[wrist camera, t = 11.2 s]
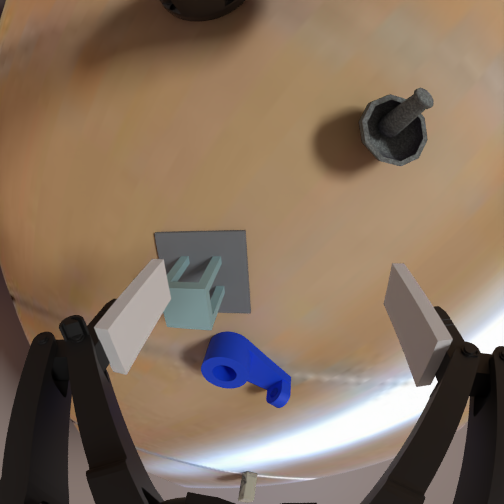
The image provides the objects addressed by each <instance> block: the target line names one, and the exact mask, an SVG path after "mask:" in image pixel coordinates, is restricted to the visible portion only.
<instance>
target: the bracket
mask: <svg viewBox="0 0 504 504" xmlns="http://www.w3.org/2000/svg"><path fill="white" fill-rule="evenodd" d="M201 372H202V374H203V376H204V377H205V379H206V380H207V381H209V382H210V383H212V384H214V385H216V386H218V387H222V388H237V387H240V386H242V385H244V384H245V383H246V381H248V382H250V383H253V384H255V385H257V386H259V387H262V388H264V389H266V390H267V398H266V400H267V402H268V403H269V404H271V405H273V406H275V407H277V408H281V407H283V406H284V405H285V404H286V403H287V402H288V400H289V398H290V389H291V377H290V376H289V375H288V374H287V373H286V372H284V371H283V370H282V369H281V368H280V367H278V366H277V365H276V364H275V363H274V362H273V361H271V360H270V359H269V358H268V357H267V356H266V355H265V354H263V353H262V352H261V351H260V350H259V349H258V348H257V347H255V346H254V345H253V344H252V343H251V342H250V341H249V340H248V339H246V338H245V337H244V336H242V335H240V334H238V333H234V332H221V333H218V334H216V335H214V336H213V337H212V339H211V340H210V343H209V346H208V349H207V352H206V355H205V358H204V360H203V363H202V366H201Z"/></svg>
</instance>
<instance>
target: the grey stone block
mask: <svg viewBox="0 0 504 504" xmlns="http://www.w3.org/2000/svg"><path fill="white" fill-rule="evenodd" d="M256 480H257V474H256V473H252V472H246V473H244V474H242V480H241V486H240V492H239V498H238V501H241V502H246V503H249V502H252V501H254V495H255V488H256Z"/></svg>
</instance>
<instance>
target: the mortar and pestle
mask: <svg viewBox="0 0 504 504" xmlns="http://www.w3.org/2000/svg"><path fill="white" fill-rule="evenodd" d="M432 106H433V98H432V96H431V95H430V93H429V92H428V91H427V90H425V89H423V88H418V89H416V90H415V91H414V94H413V95H412V96H411V97H409V98H408V99H404V98H401V97H397V96H394V95H391V94H390V95H387V96H384V97H382V98H379V99H377V100H375V101H372V102H370V103H368V105H367V106H366V108H365V110H364V112H363V114H362V116H361V118H360V120H359V127H360V133H361V139H362V143H363V144H364V145H365V146H366V147H367V149H368V150H369V151H370V152H371V153H372V154H373V155H374V156H375V158H376V159H377V160H379V161H381V162H386V163H390V164H394V165H397V166H403V165H405V164H407V163H409V162H411V161H413V160H416V159H418V158H419V156H420V154H421V152H422V150H423V148H424V146H425V144H426V142H427V132H426V124H425V118H424V117H423V115H422V114H421V113H422V112H423V111H424V110H425V109H429V108H431V107H432Z"/></svg>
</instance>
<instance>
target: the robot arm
mask: <svg viewBox="0 0 504 504" xmlns="http://www.w3.org/2000/svg"><path fill="white" fill-rule="evenodd" d="M160 1H161V3H162V5H163V6H164V7H165V8H166V9H167V10H168V11H169V12H170V13H172V14H173V15H174V16H176V17H178V18H181V19H184V20H189V21H205V20H211V19H215V18H218V17H221V16H223V15H226V14H228V13H230V12H231V11H233V10H235V9H236V8H237V7H239V6H240V5H241V4H242V3H243V2H244V1H245V0H160ZM170 300H171V295H170V290H169V285H168V280H167V275H166V269H165V264H164V259H152V260H151V261H150V262H149V263H148V264H147V265H146V266H145V268H144V269H143V270H142V271H141V272H140V273H139V274H138V275H137V277H136V278H135V279H134V280H133V281H132V282H131V283H130V285H129V286H128V287H127V288H126V289H125V290H124V292H123V293H122V294H121V295H120V296H119V297H118V299H113V300H111V301H110V302H108V303H106V304H105V306H104V307H103V308H102V309H101V311H99V313H98V314H97V315H96V316H95V317H94V319H93V320H92V321H91V322H90V323H89V325H88V326H86V323H85V321H84V319H83V317H82V316H80V315H73V316H69V317H67V318H65V319H64V320H63V321H62V322H61V323H60V325H59V329H60V331H61V333H62V336H63V338H64V340H56V339H55V337H54V335H53V334H52V333H51V332H43V333H40V334H38V335H37V336H36V337H35V338H34V339H33V341H32V344H31V346H30V349H29V352H28V355H27V358H26V361H25V365H24V368H23V371H22V374H21V378H20V381H19V385H18V388H17V392H16V396H15V400H14V404H13V408H12V413H11V417H10V422H9V427H8V432H7V438H6V444H5V451H4V459H3V467H2V477H1V480H0V504H69V489H68V437H69V420H70V408H71V397H73V403H74V408H75V413H76V418H77V422H78V427H79V431H80V435H81V439H82V443H83V447H84V450H85V454H86V457H87V460H88V464H89V470H88V471H86V476H87V481H88V484H89V487H90V490H91V492H92V495H93V498H94V501H95V503H96V504H235V503H232V502H229V501H226V500H223V499H221V498H218V497H212V496H206V495H201V494H195V493H190V492H188V493H187V496H186V497H184V498H175V499H170V500H166V501H164V500H163V499H162V497H161V496H160V494H159V493H158V492H157V490H156V489H155V487H154V486H153V484H152V482H151V480H150V478H149V476H148V474H147V472H146V470H145V468H144V466H143V464H142V461H141V459H140V457H139V455H138V453H137V450H136V448H135V446H134V443H133V441H132V439H131V436H130V434H129V431H128V429H127V426H126V424H125V421H124V419H123V416H122V413H121V410H120V408H119V405H118V402H117V399H116V396H115V393H114V390H113V387H112V384H111V381H110V378H109V374H108V372H107V370H106V368H107V366H108V365H109V363H110V366H111V368H112V370H113V372H117V373H121V374H126V375H127V373H128V371H129V370H130V368H131V366H132V364H133V363H134V361H135V359H136V357H137V356H138V354H139V352H140V350H141V349H142V347H143V345H144V343H145V342H146V340H147V338H148V337H149V335H150V333H151V332H152V330H153V328H154V326H155V325H156V323H157V321H158V320H159V318H160V316H161V315H162V313H163V311H164V310H165V308H166V306H167V305H168V303H169V302H170ZM384 306H385V308H386V310H387V313H388V315H389V317H390V320H391V322H392V324H393V327H394V329H395V332H396V334H397V337H398V339H399V341H400V344H401V347H402V349H403V352H404V354H405V357H406V359H407V362H408V365H409V367H410V370H411V373H412V376H413V379H414V381H415V384H416V387H418V386H425V385H431V383H432V381H433V379H434V377H435V376H436V378H437V381H438V383H437V385H436V386H435V388H434V390H433V392H432V393H431V395H430V399H429V401H428V403H427V405H426V406H425V408H424V410H423V412H422V414H421V416H420V418H419V419H418V421H417V423H416V425H415V426H414V428H413V430H412V432H411V433H410V435H409V437H408V438H407V440H406V441H405V443H404V445H403V446H402V448H401V449H400V451H399V452H398V454H397V456H396V457H395V458H394V460H393V461H392V463H391V464H390V466H389V467H388V469H387V470H386V471H385V473H384V474H383V476H382V477H381V478H380V480H379V481H378V482H377V484H376V485H375V486H374V487H373V489H372V490H371V491H370V493H369V494H368V495H367V496H366V497H365V499H364V500H363V501H362V502H361V503H360V504H423V503H424V500H425V496H424V494H425V492H426V490H427V488H428V486H429V485H430V483H431V481H432V479H433V478H434V476H435V474H436V472H437V470H438V468H439V466H440V464H441V462H442V460H443V458H444V456H445V454H446V452H447V450H448V448H449V446H450V443H451V441H452V439H453V437H454V434H455V432H456V430H457V427H458V425H459V422H460V420H461V417H462V414H463V412H464V409H465V406H466V403H467V401H468V398H469V396H470V405H469V418H468V428H467V436H466V444H465V450H464V457H463V463H462V468H461V472H460V477H459V482H458V486H457V490H456V494H455V498H454V501H453V504H504V346H499V347H496V348H495V350H494V351H493V353H492V354H483V353H480V351H479V349H478V348H477V347H476V346H475V345H474V344H472V343H469V342H465V341H464V340H463V338H462V336H461V335H460V333H459V332H458V330H457V328H456V327H455V325H454V324H453V322H452V320H450V317H449V316H448V314H447V313H446V312H445V311H444V310H443V309H442V308H440V307H439V306H437V307H433V306H432V304H431V302H430V301H429V299H428V298H427V296H426V295H425V293H424V292H423V290H422V289H421V287H420V286H419V284H418V283H417V281H416V280H415V278H414V277H413V275H412V274H411V273H410V271H409V270H408V268H407V267H406V266H405V264H404V263H392V267H391V272H390V277H389V282H388V287H387V291H386V296H385V300H384ZM282 504H317V503H282Z"/></svg>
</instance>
